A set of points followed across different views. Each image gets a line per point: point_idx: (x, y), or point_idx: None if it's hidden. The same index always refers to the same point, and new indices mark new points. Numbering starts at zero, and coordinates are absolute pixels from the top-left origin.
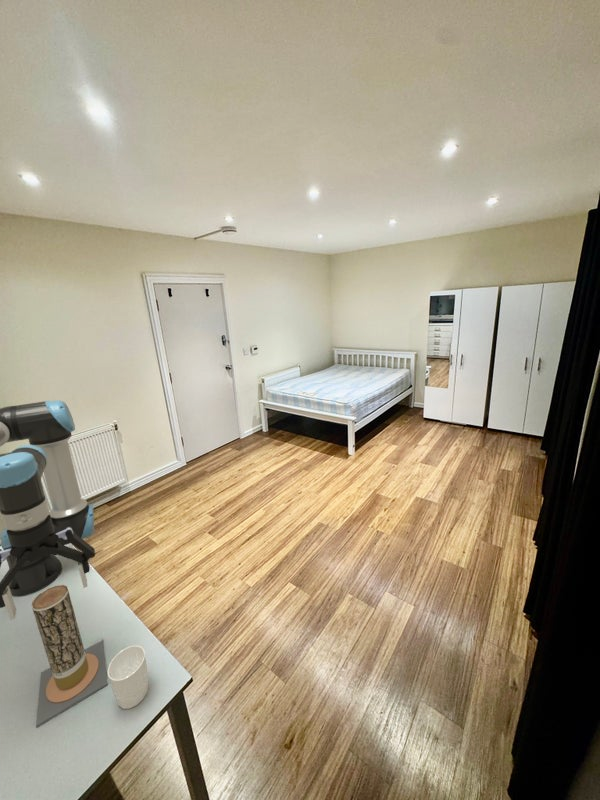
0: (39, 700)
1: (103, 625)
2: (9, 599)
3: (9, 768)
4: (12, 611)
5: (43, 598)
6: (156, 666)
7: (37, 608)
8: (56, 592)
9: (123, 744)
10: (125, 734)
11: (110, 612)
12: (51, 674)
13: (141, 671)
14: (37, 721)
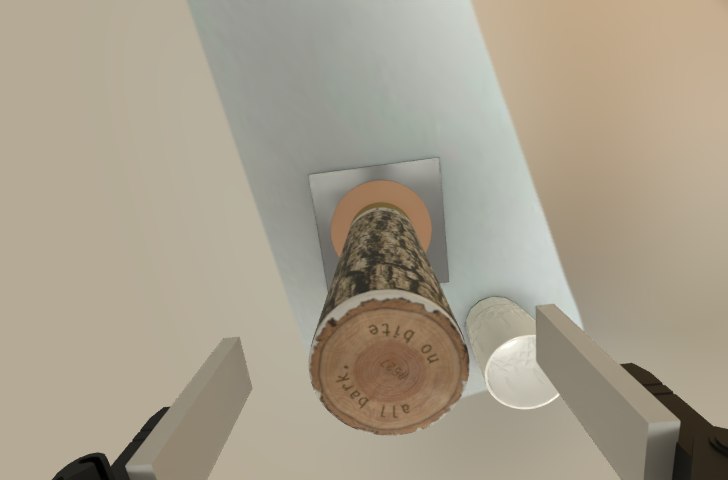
0: (322, 246)
1: (437, 98)
2: (202, 466)
3: (304, 335)
4: (237, 416)
5: (357, 365)
6: (544, 292)
7: (345, 419)
8: (415, 356)
9: (470, 392)
10: (474, 380)
11: (456, 54)
12: (332, 194)
13: (546, 385)
14: (329, 287)
